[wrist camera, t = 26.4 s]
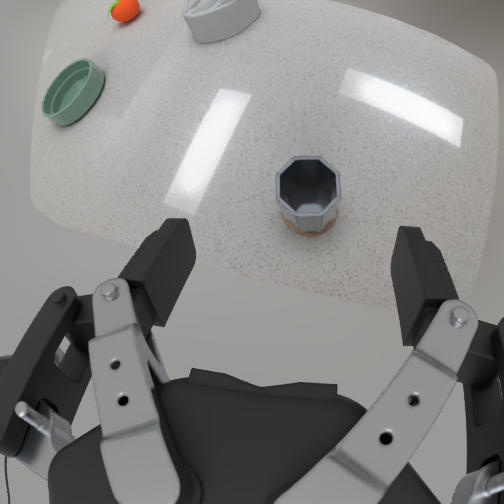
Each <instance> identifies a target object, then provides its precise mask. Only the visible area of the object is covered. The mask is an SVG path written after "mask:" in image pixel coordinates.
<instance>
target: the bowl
mask: <svg viewBox="0 0 504 504" xmlns="http://www.w3.org/2000/svg"><path fill="white" fill-rule="evenodd" d="M103 83H104V74H103V72H102V71H101V70H100V69H99V68H98V67H97V66H96V65H95V64H94V63H93V62H92V61H91V60H89V59H88V58H82V59H79V60H76V61H74V62H73V63H71V64H70V65H68V66H67V67H66V68H65V69H63V70H62V71H61V72H60V73H59V74H58V76H57V77H56V78H55V79H54V80H53V82H52V83H51V85H50V86H49V88H48V89H47V91H46V94H45V96H44V98H43V102H42V113H43V115H44V116H45V117H46V118H48V119H49V120H51V121H53V122H54V123H56V124H58V125H60V126H65V125H69V124H71V123H73V122H74V121H76V120H78V119H79V118H80V117H81V116H82V115H83V114H85V113H86V111H87V110H88V109H89V108H90V107H91V106H92V104H93V103H94V102H95V100H96V99H97V97H98V96H99V94H100V91H101V89H102V87H103Z"/></svg>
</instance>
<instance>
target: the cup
mask: <svg viewBox="0 0 504 504" xmlns="http://www.w3.org/2000/svg"><path fill="white" fill-rule="evenodd" d="M340 198H341V189H340V175H339V172H338V171H337V170H336V169H335V168H333V167H332V166H331V165H330V164H329V163H328V162H326V161H325V160H324V159H323V158H322V157H319V156H295V157H293V158H292V159H291V160H290V161H289V162H288V163H287V164H286V165H285V166H284V167H283V168H282V169H280V170H279V171H278V172H277V173H276V199H277V201H278V204H279V206H280V208H281V210H282V213H283V215H284V217H285V219H286V220H287V221H288V222H289V223H290V224H291V225H292V226H293V227H294V228H295V229H297V230H298V231H299V232H305V233H315V232H322V231H323V230H324V229H325V228H326V227H327V226H328V225H329V224H330V223H331V221H332V220H333V219H334V218H335V216H336V213H337V209H338V206H339V202H340Z"/></svg>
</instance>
